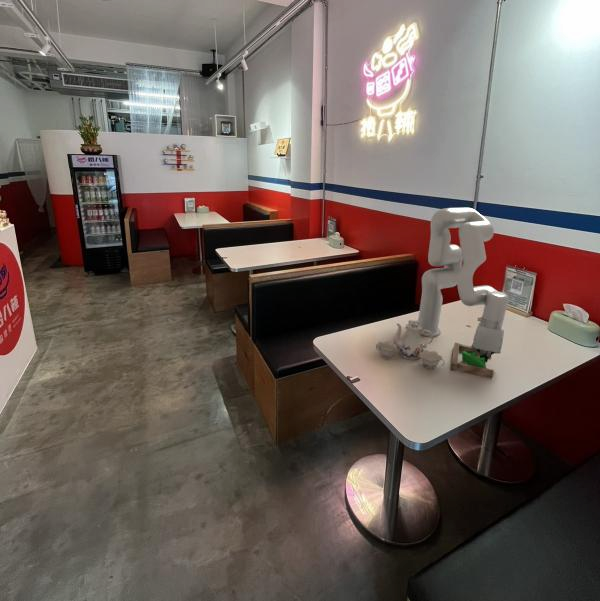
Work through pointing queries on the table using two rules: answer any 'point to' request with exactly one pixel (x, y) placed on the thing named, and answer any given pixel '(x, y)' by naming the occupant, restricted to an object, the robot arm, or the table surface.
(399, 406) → the table surface
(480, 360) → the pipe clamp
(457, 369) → the frame
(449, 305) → the table surface
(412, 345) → the chinaware
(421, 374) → the table surface
